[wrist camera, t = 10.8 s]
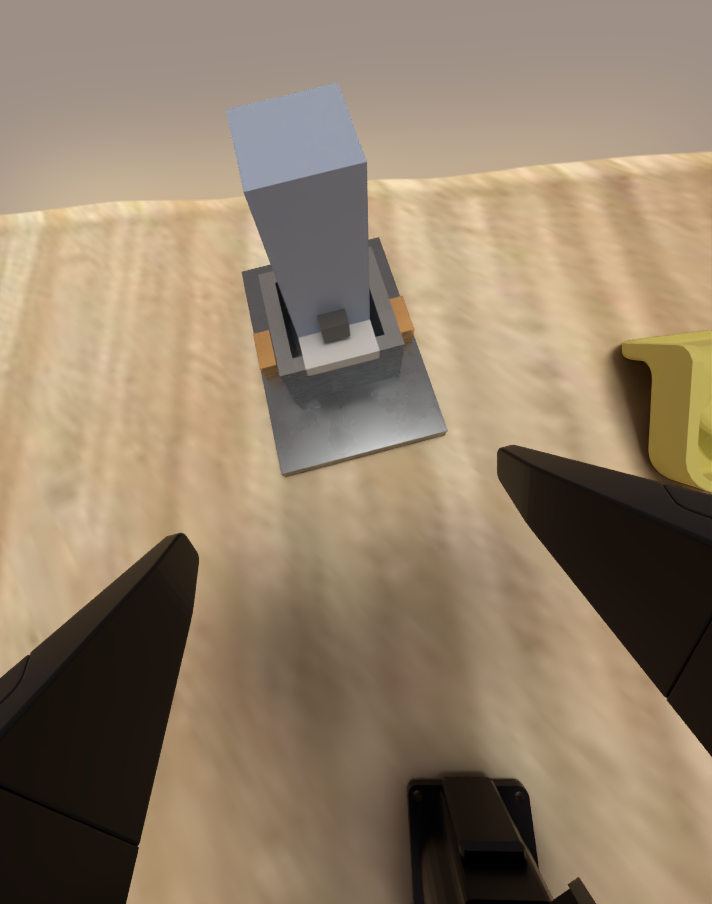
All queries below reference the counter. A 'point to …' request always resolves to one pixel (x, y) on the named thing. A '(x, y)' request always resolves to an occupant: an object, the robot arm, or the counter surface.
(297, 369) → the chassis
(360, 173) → the grey tall block
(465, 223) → the counter surface
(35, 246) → the counter surface
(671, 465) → the plastic component
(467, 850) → the robot arm
